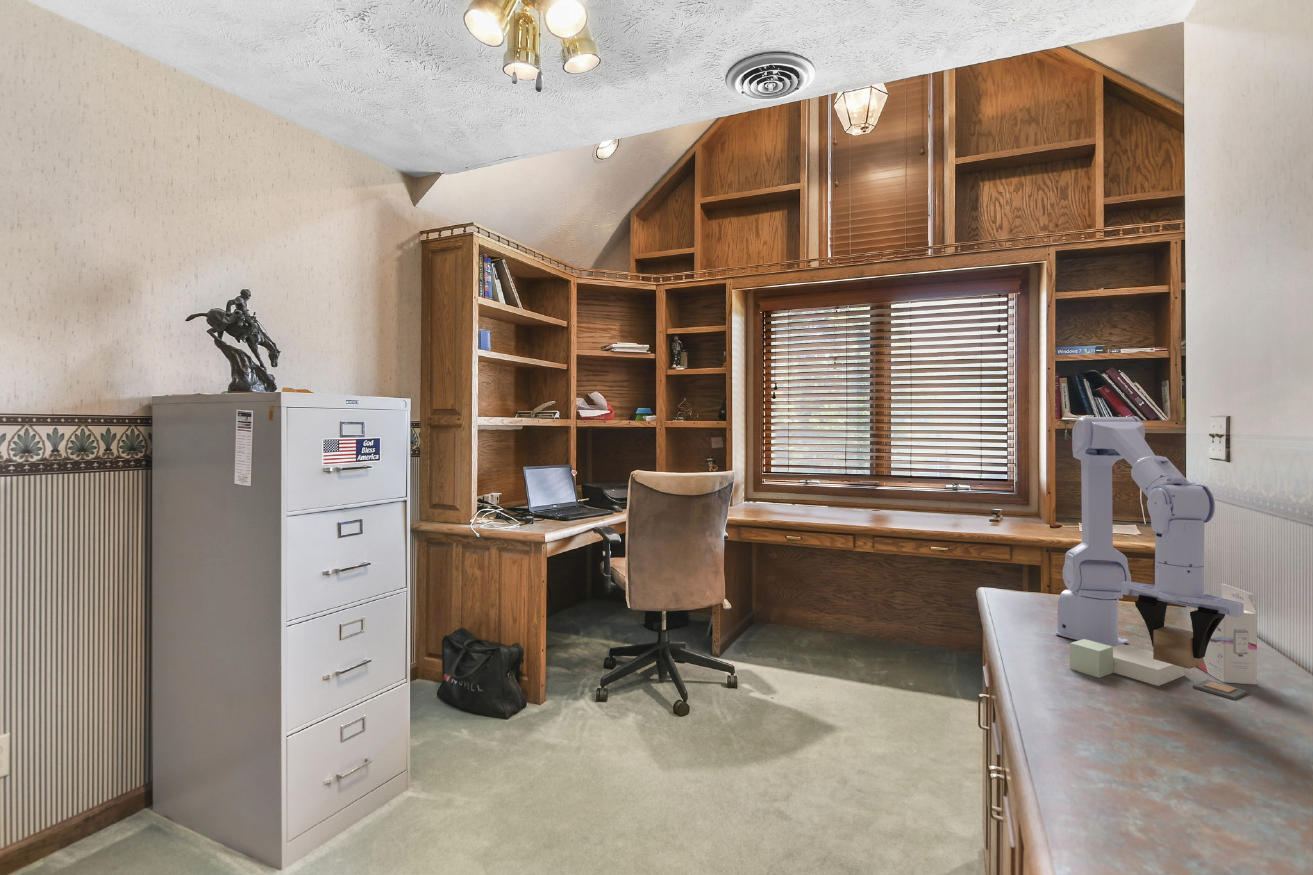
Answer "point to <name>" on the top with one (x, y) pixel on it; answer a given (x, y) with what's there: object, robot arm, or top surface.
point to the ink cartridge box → (1234, 643)
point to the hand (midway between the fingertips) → (1177, 651)
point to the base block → (1143, 666)
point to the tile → (1220, 689)
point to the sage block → (1091, 658)
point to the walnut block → (1174, 647)
